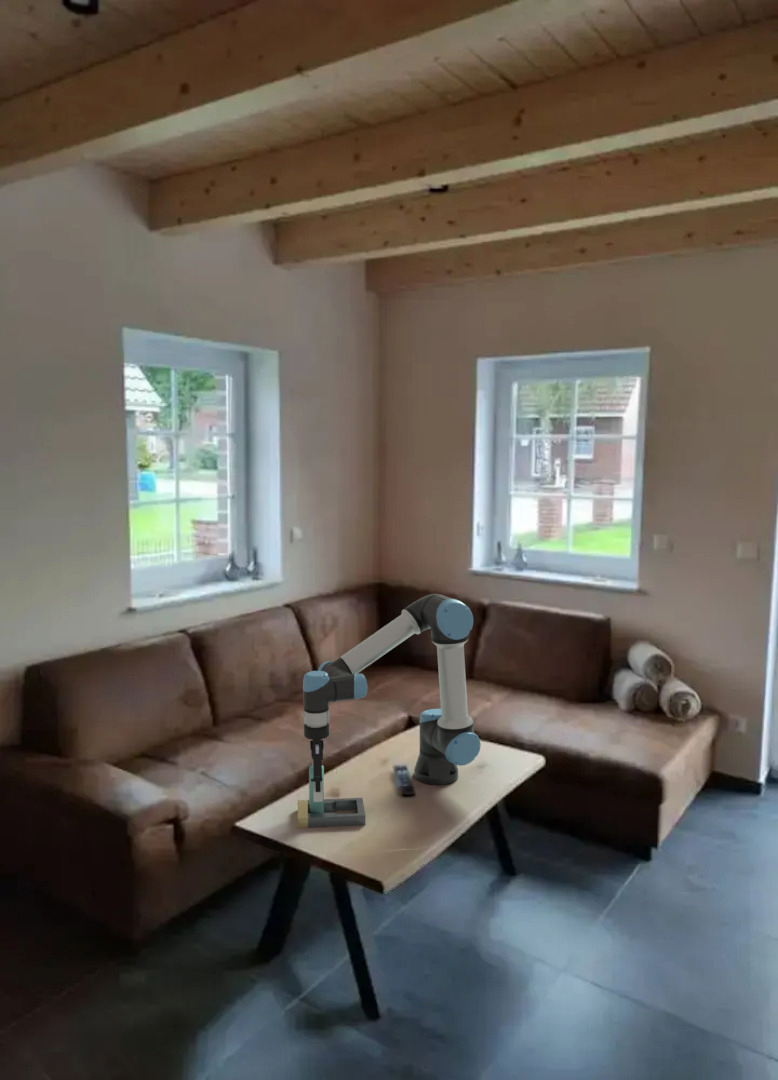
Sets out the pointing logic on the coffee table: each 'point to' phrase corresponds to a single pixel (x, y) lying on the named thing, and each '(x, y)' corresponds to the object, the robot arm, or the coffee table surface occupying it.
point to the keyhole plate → (332, 818)
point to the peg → (313, 806)
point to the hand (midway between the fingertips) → (317, 791)
